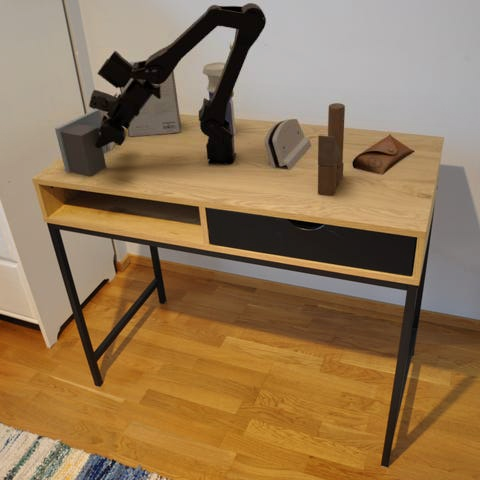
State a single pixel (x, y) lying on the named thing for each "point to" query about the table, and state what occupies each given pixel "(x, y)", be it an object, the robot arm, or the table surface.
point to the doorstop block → (83, 149)
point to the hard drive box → (157, 112)
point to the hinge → (286, 143)
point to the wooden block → (331, 151)
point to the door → (86, 119)
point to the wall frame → (103, 113)
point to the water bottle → (213, 76)
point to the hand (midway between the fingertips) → (96, 147)
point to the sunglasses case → (381, 156)
